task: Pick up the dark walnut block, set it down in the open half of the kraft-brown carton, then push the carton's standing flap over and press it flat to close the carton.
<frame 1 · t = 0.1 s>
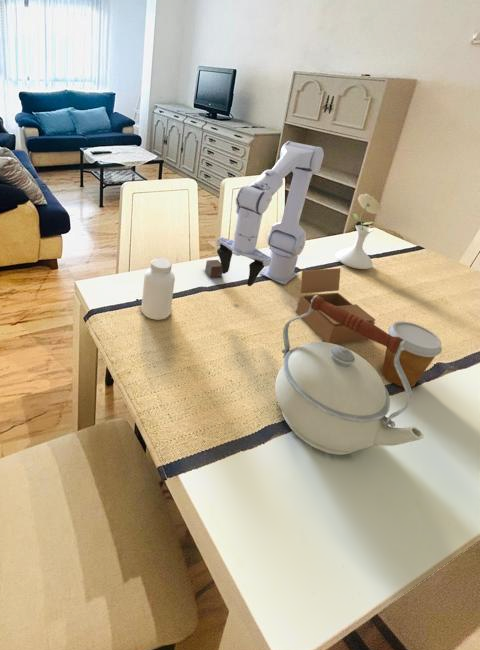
hand: (237, 278, 103), 10 cm above the table, tool pointing down, fingers open, 7 cm apart
disposable coffee cup: (397, 377, 87), on the table
pill bottle: (155, 311, 104), on the table
block: (213, 274, 124), on the table
kettle: (327, 427, 74), on the table
flower in vase: (351, 263, 136), on the table
carton: (330, 325, 103), on the table
flap: (320, 280, 106), point 9 cm above the table, hinge at 105.0°
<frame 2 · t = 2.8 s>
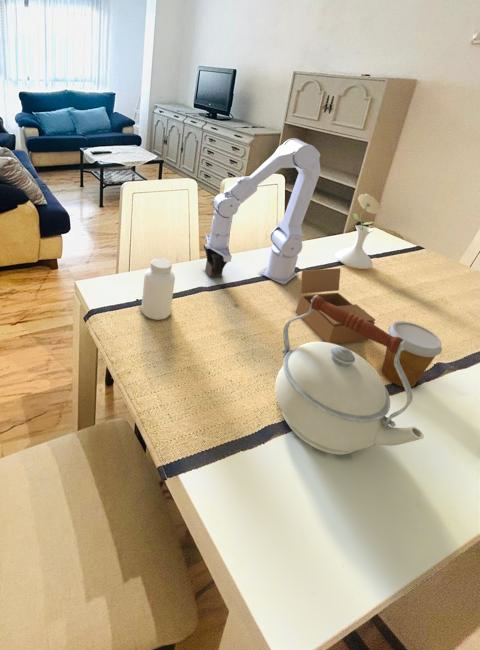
hand: (213, 270, 123), 1 cm above the table, tool pointing down, fingers closed on block, 4 cm apart
block: (213, 274, 124), on the table, touching gripper
everything else where it was.
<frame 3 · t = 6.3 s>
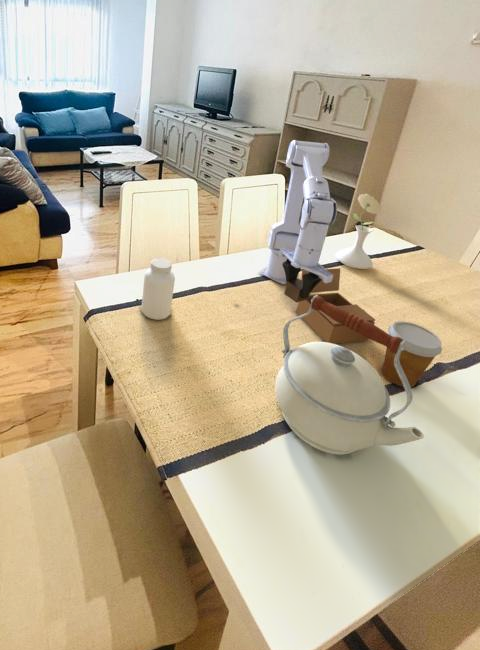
hand: (296, 292, 100), 9 cm above the table, tool pointing down, fingers closed on block, 4 cm apart
block: (295, 296, 100), point 8 cm above the table, touching gripper
everything else where it was.
when the fingers open (2 cm above the table, at t = 10.3 s): block stays where it is, resting on carton.
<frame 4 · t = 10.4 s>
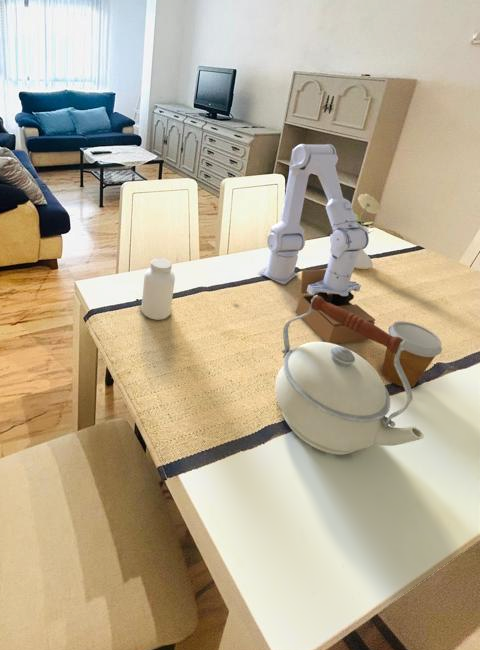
hand: (325, 313, 104), 2 cm above the table, tool pointing down, fingers open, 4 cm apart
block: (325, 318, 104), resting on carton
everything else where it was.
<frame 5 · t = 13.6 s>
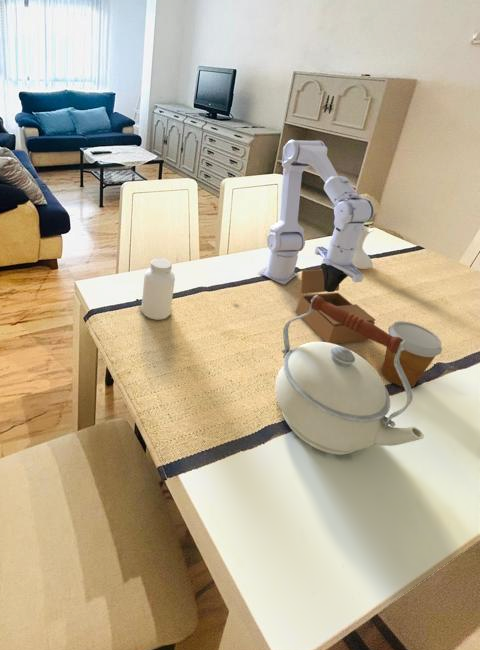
hand: (329, 290, 101), 9 cm above the table, tool pointing down, fingers closed
nothing on the table moved.
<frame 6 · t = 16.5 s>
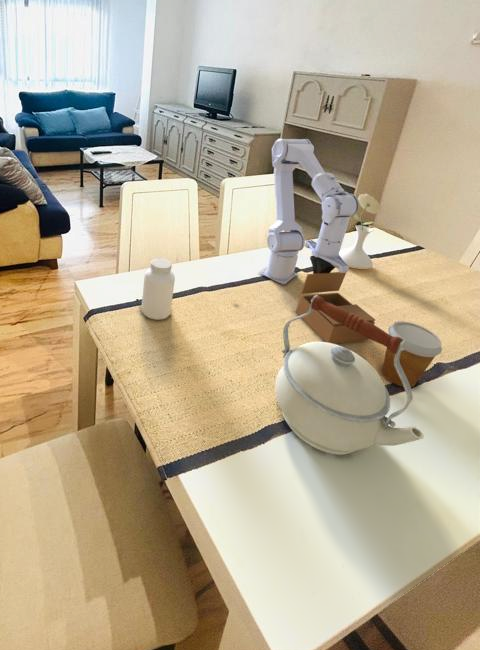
hand: (318, 281, 107), 9 cm above the table, tool pointing down, fingers closed
flap: (323, 282, 105), point 9 cm above the table, hinge at 85.1°, touching gripper
everything else where it was.
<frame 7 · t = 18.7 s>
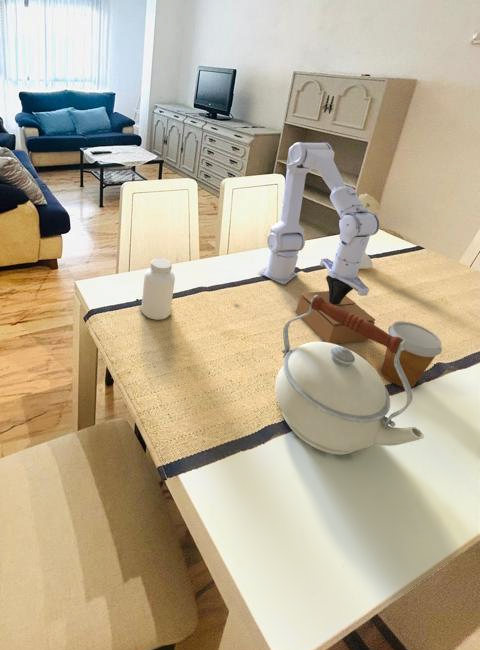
hand: (334, 302, 101), 7 cm above the table, tool pointing down, fingers closed, pressing on flap
flap: (328, 298, 103), point 6 cm above the table, hinge at 2.1°, touching gripper
everything else where it was.
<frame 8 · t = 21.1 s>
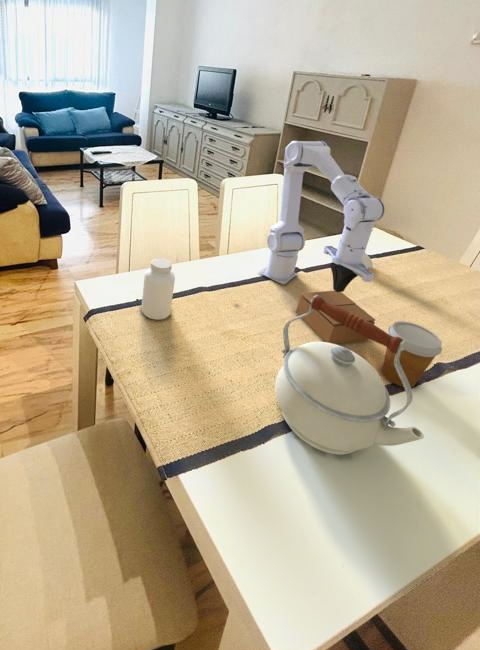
hand: (338, 290, 100), 10 cm above the table, tool pointing down, fingers closed
flap: (328, 298, 103), point 6 cm above the table, hinge at 1.4°
everything else where it was.
at the end: flap at +1° (first picture: +105°); block inside the target area in the carton (0.3 cm from its centre), point 0.5 cm above the carton's base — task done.
